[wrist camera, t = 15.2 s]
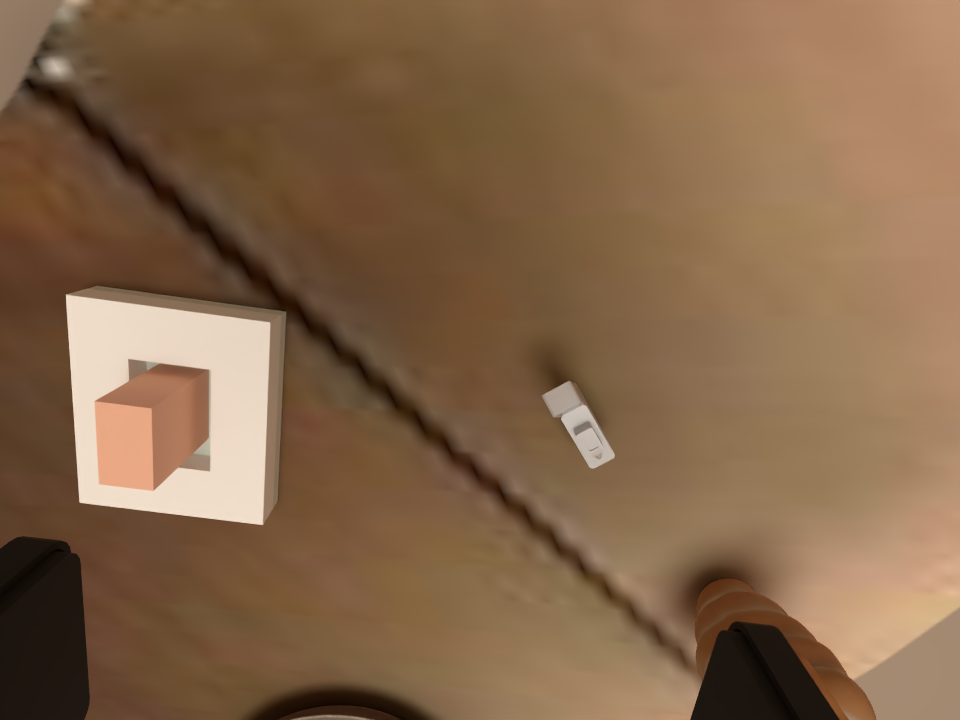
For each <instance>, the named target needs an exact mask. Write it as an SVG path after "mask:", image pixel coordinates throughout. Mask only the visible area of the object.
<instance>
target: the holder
mask: <svg viewBox="0 0 960 720" xmlns="http://www.w3.org/2000/svg"><path fill="white" fill-rule="evenodd" d="M66 304H67V319H68V334H69V349H70V364H71V379H72V394H73V409H74V424H75V440H76V455H77V470H78V485H79V500H80V503H87V504H95V505H103V506H112V507H120V508H128V509H136V510H144V511H153V512H161V513H169V514H177V515H185V516H194V517H202V518H210V519H218V520H227V521H235V522H243V523H251V524H259V525H263V524H264V522H265V521H266V519H267V517H268V516H269V514H270V513H271V511H272V509H273V508H274V506H275V505H276V503H277V502H278V482H279V460H280V438H281V416H282V394H283V373H284V351H285V329H286V312H285V311H277V310H270V309H263V308H256V307H248V306H241V305H234V304H226V303H219V302H212V301H205V300H197V299H190V298H183V297H175V296H168V295H161V294H153V293H146V292H139V291H132V290H124V289H117V288H110V287H102V286H95V287H92V288H88V289H84V290H81V291H77V292H74V293H70V294H67V295H66ZM160 363H163V364H171V365H178V366H186V367H193V368H201V369H209V438H208V439H207V440H206V441H205V442H204V443H203V444H202V445H201V446H200V447H199V448H198V449H197V450H196V451H195V452H194V453H193V454H192V455H191V456H190V457H189V458H188V459H187V460H185V461H184V462H183V463H182V464H181V465H180V466H179V467H178V468H177V469H176V470H175V471H174V472H173V473H172V474H171V475H170V476H169V477H168V478H167V479H166V480H165V481H164V482H162V483H161V484H160V485H159V486H158V487H157V488H156V489H155V490H154V491H149V490H141V489H133V488H125V487H117V486H109V485H101V484H99V475H98V457H97V438H96V420H95V402H94V401H96V400H97V399H99V398H101V397H103V396H104V395H106V394H108V393H109V392H111V391H113V390H115V389H116V388H118V387H120V386H122V385H123V384H125V383H127V382H129V381H130V380H132V379H134V378H135V377H137V376H139V375H141V374H142V373H144V372H146V371H148V370H149V369H151V368H153V367H155V366H156V365H158V364H160Z"/></svg>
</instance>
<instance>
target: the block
mask: <svg viewBox="0 0 960 720" xmlns="http://www.w3.org/2000/svg"><path fill="white" fill-rule="evenodd" d="M94 402H95V420H96V438H97V457H98V475H99V484H101V485H109V486H117V487H125V488H133V489H141V490H149V491H154V490H155V489H156V488H157V487H158V486H159V485H160V484H161V483H162V482H164V481H165V480H166V479H167V478H168V477H169V476H170V475H171V474H172V473H173V472H174V471H175V470H176V469H177V468H178V467H179V466H180V465H181V464H182V463H183V462H184V461H185V460H187V459H188V458H189V457H190V456H191V455H192V454H193V453H194V452H195V451H196V450H197V449H198V448H199V447H200V446H201V445H202V444H203V443H204V442H205V441H206V440H207V439H208V438H209V369H201V368H193V367H186V366H178V365H171V364H163V363H160V364H158V365H156V366H155V367H153V368H151V369H149V370H148V371H146V372H144V373H142V374H141V375H139V376H137V377H135V378H134V379H132V380H130V381H129V382H127V383H125V384H123V385H122V386H120V387H118V388H116V389H115V390H113V391H111V392H109V393H108V394H106V395H104V396H103V397H101V398H99V399H97V400H96V401H94Z"/></svg>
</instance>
